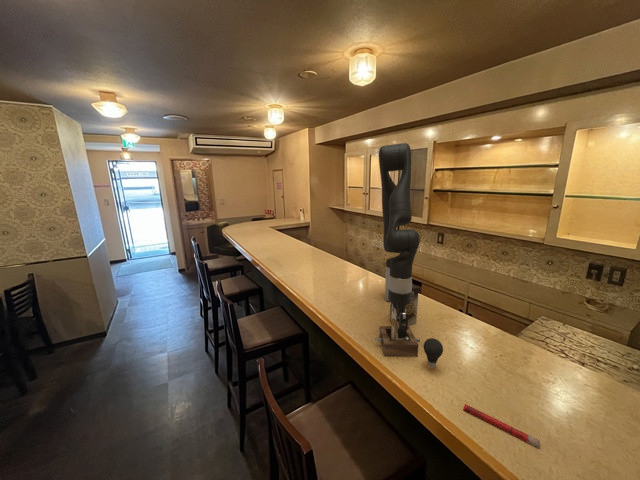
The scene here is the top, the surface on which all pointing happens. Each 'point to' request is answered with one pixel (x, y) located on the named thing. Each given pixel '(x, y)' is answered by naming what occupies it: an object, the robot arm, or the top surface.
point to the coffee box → (410, 306)
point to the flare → (503, 426)
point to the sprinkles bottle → (395, 329)
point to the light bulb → (432, 351)
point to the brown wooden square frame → (398, 343)
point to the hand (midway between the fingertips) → (397, 330)
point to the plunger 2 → (409, 339)
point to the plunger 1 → (381, 339)
